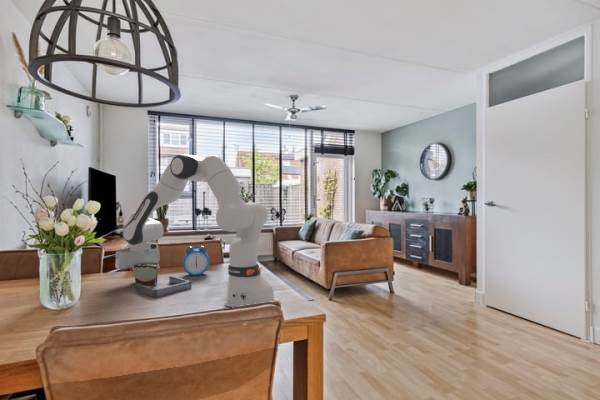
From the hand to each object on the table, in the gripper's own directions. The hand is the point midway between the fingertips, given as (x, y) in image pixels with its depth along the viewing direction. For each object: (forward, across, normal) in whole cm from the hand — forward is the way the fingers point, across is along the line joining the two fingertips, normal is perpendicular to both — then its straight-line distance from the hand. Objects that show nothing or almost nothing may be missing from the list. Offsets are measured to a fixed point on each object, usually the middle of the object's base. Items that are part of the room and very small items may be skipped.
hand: (138, 274), depth 154 cm
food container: (+3, 0, -10) cm, 10 cm away
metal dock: (+3, 0, -22) cm, 23 cm away
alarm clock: (+3, +24, -12) cm, 27 cm away
